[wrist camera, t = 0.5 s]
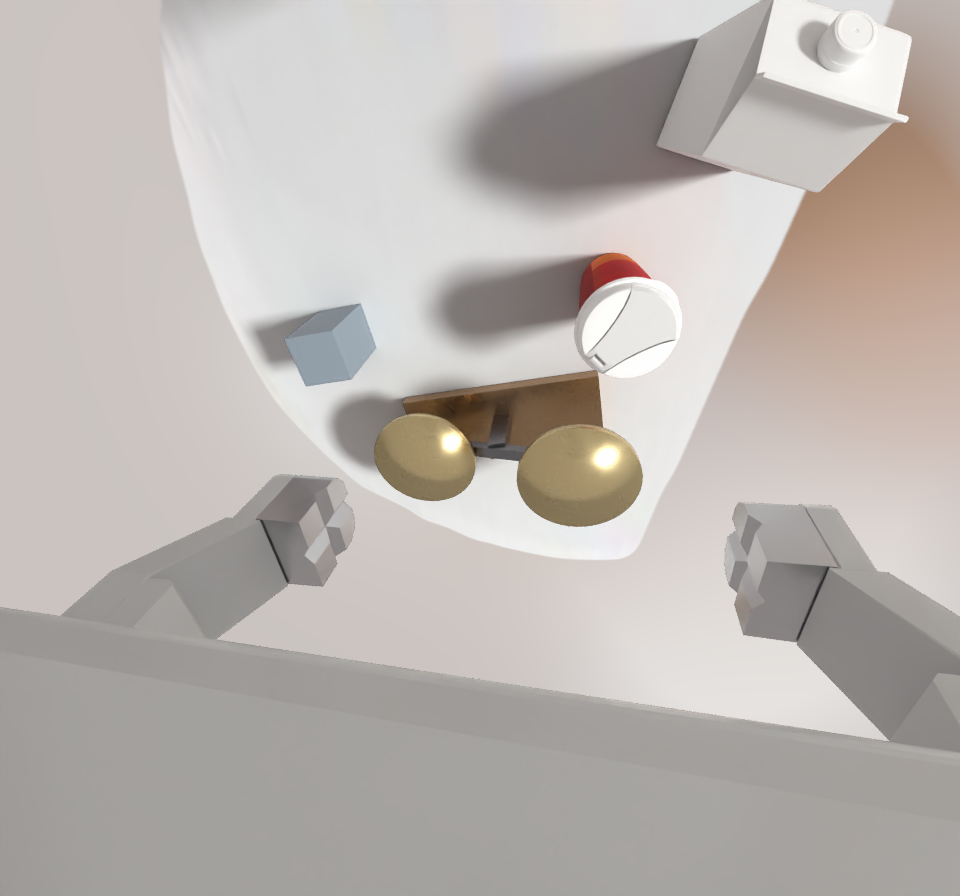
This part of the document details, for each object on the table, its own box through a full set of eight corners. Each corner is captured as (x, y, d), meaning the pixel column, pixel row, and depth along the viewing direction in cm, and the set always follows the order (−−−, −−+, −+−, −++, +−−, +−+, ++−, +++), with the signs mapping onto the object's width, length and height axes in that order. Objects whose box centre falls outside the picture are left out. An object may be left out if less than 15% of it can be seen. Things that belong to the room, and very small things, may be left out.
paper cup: (604, 336, 49) (620, 402, 37) (553, 283, 46) (553, 336, 35) (670, 281, 45) (710, 335, 33) (617, 219, 42) (641, 255, 31)
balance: (382, 388, 56) (338, 456, 44) (620, 353, 49) (640, 421, 38) (409, 464, 61) (377, 540, 50) (625, 440, 55) (644, 522, 44)
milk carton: (735, 171, 39) (854, 203, 24) (654, 146, 39) (721, 161, 24) (788, 64, 35) (973, 19, 20) (698, 35, 35) (814, -34, 20)
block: (318, 311, 51) (284, 339, 45) (360, 303, 50) (331, 330, 43) (335, 354, 54) (305, 386, 47) (376, 347, 53) (351, 379, 46)
